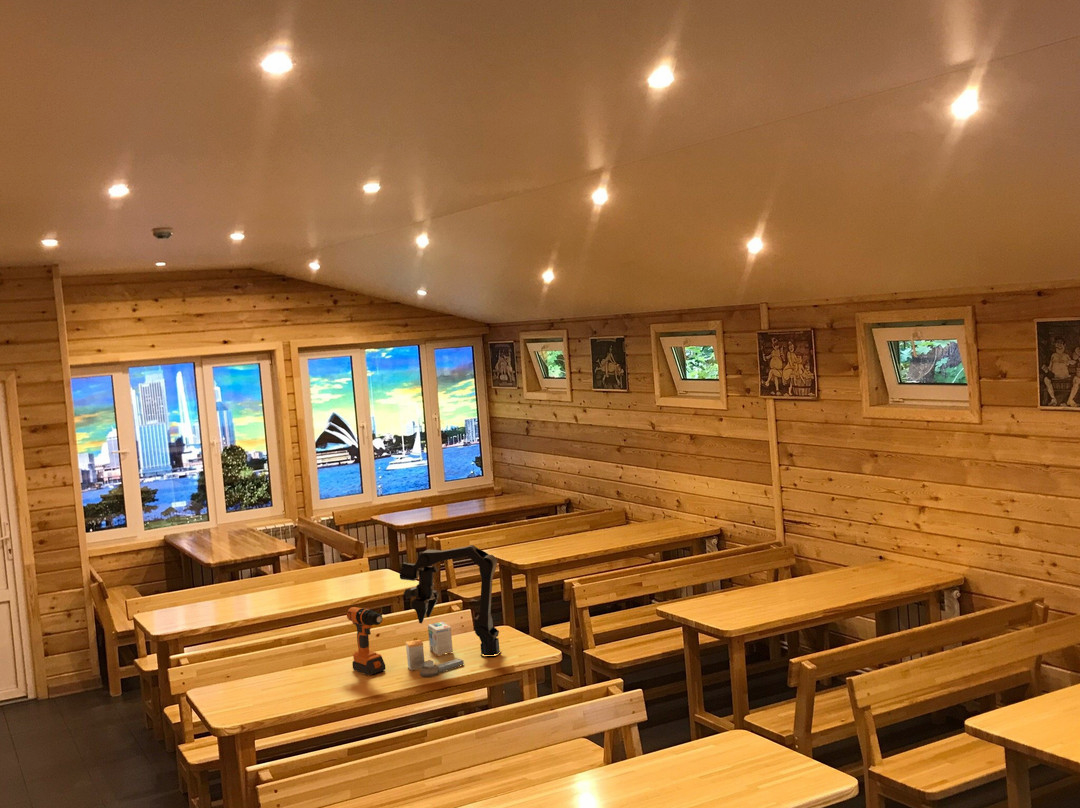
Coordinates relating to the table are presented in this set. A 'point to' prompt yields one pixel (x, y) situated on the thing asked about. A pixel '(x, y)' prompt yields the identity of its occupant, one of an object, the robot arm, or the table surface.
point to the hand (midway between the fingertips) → (424, 620)
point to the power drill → (365, 641)
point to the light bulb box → (440, 638)
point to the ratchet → (438, 667)
